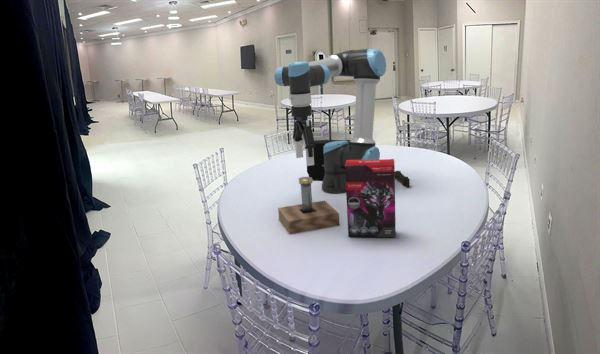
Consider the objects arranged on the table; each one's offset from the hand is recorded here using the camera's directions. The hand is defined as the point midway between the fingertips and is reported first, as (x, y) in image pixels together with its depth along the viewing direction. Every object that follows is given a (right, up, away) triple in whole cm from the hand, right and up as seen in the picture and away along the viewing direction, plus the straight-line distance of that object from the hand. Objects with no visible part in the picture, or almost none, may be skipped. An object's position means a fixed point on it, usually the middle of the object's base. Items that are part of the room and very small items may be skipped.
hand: (304, 161), depth 168 cm
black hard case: (+18, -7, +63) cm, 66 cm away
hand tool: (+49, -9, +49) cm, 70 cm away
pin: (+1, -24, +7) cm, 25 cm away
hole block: (+1, -24, +7) cm, 25 cm away
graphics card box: (+24, -27, -8) cm, 37 cm away
